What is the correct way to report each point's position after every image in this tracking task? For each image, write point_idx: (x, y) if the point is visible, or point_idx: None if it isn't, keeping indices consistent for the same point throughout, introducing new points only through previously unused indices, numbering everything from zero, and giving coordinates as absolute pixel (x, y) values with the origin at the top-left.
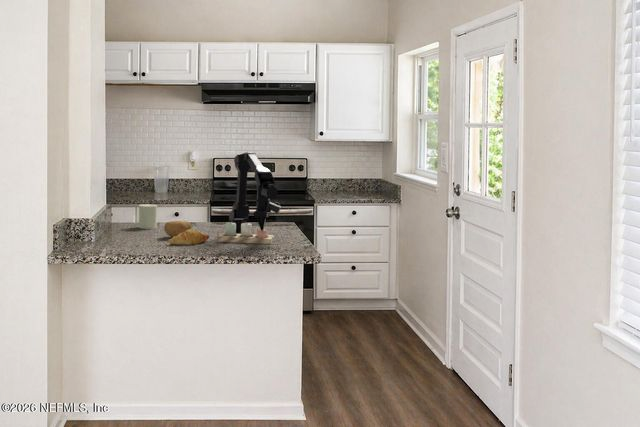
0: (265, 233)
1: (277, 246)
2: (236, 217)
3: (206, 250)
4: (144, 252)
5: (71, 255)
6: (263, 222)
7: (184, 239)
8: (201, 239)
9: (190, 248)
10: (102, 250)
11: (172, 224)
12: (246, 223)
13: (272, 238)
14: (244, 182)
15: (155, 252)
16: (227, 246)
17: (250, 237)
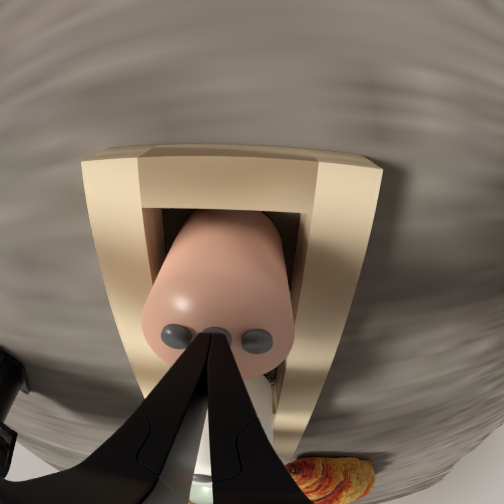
0: (274, 271)
1: (474, 106)
2: (5, 443)
3: (478, 405)
4: (448, 459)
5: (436, 482)
6: (261, 440)
7: (374, 478)
8: (343, 467)
9: (431, 440)
10: (407, 487)
11: None
12: (208, 481)
13: (221, 152)
14: None
15: (455, 451)
16: (427, 390)
17: (304, 361)
